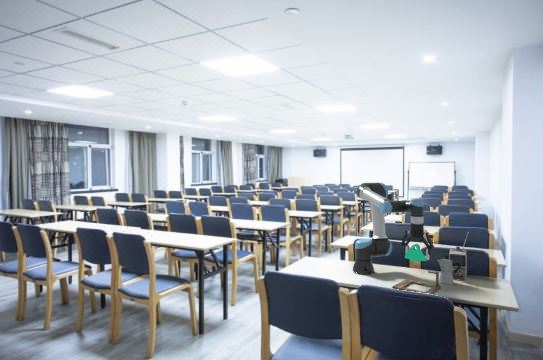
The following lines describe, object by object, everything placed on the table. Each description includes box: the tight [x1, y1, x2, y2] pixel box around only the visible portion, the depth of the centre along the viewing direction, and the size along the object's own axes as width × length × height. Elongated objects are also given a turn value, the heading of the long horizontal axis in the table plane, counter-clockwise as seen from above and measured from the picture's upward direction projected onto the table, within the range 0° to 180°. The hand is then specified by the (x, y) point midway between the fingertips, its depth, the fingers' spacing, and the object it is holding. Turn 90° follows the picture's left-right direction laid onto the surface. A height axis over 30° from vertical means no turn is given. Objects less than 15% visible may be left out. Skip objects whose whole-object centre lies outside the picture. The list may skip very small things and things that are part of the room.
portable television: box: [448, 231, 469, 281], centre depth 250 cm, size 12×24×30 cm, turn 152°
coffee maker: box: [436, 254, 461, 285], centre depth 236 cm, size 15×9×18 cm, turn 45°
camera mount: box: [404, 243, 427, 263], centre depth 225 cm, size 12×8×10 cm, turn 49°
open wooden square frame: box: [391, 270, 441, 295], centre depth 226 cm, size 22×21×10 cm
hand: (417, 258), depth 225 cm, fingers closed on camera mount, 12 cm apart
